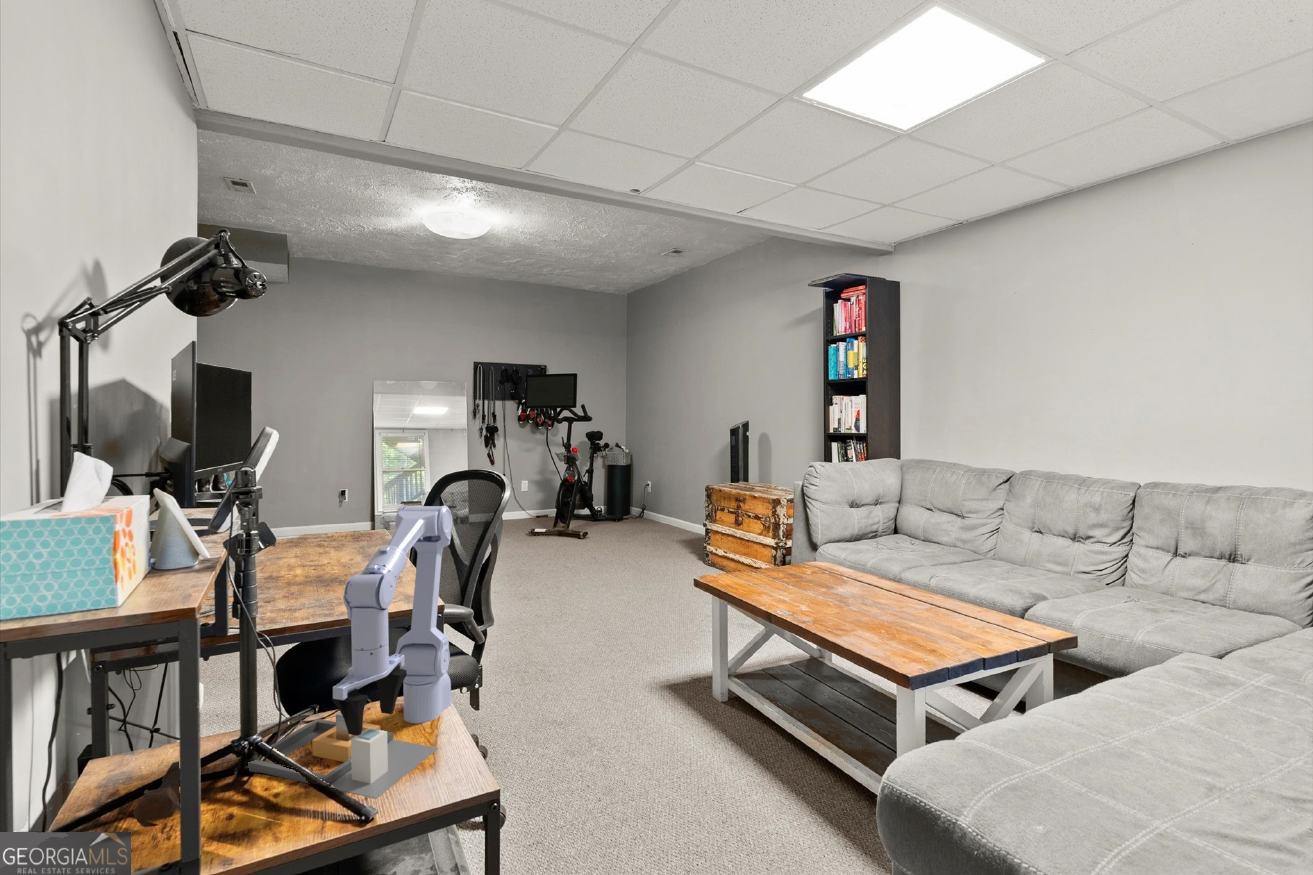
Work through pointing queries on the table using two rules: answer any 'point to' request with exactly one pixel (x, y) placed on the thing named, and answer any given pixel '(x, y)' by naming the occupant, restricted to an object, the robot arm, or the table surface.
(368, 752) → the block
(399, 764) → the lid
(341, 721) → the grey rectangular block
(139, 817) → the bolt
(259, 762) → the grey rimmed tray
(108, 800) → the table surface
